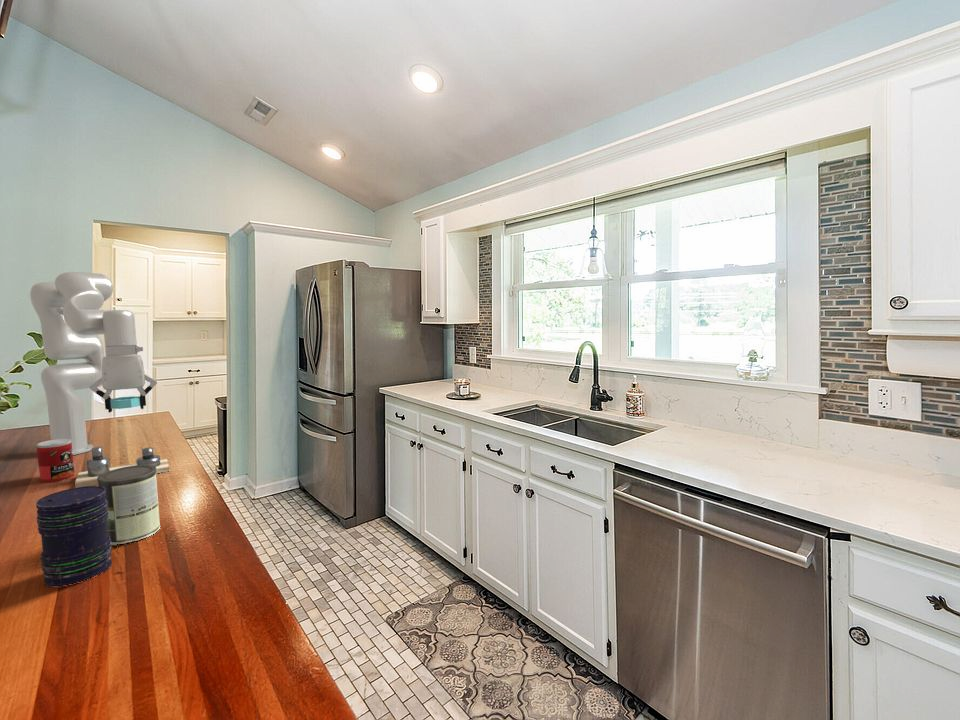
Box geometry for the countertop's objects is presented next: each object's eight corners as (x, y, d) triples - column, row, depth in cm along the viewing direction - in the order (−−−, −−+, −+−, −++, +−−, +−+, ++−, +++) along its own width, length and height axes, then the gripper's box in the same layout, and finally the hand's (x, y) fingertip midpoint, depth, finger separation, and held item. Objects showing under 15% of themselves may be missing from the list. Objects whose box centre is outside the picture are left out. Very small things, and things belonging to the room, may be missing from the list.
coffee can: (90, 547, 96) (84, 481, 95) (124, 524, 106) (119, 465, 105) (142, 544, 97) (137, 479, 96) (170, 522, 107) (166, 464, 106)
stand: (88, 473, 137) (86, 447, 136) (110, 470, 140) (108, 444, 139) (87, 478, 133) (85, 451, 132) (109, 474, 136) (107, 448, 135)
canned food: (54, 483, 133) (50, 446, 132) (32, 481, 135) (28, 445, 134) (81, 474, 141) (78, 439, 140) (60, 472, 142) (57, 438, 141)
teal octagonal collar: (112, 405, 140) (111, 398, 140) (140, 403, 144) (140, 395, 144) (110, 409, 134) (109, 401, 134) (140, 406, 138) (139, 398, 138)
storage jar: (109, 553, 93) (103, 482, 92) (116, 572, 87) (109, 495, 85) (42, 572, 87) (34, 495, 85) (43, 594, 80) (35, 511, 78)
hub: (136, 465, 144) (135, 448, 144) (160, 461, 148) (158, 444, 147) (136, 470, 140) (135, 452, 139) (160, 466, 143) (159, 449, 143)
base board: (79, 477, 138) (78, 472, 138) (167, 462, 151) (167, 458, 151) (75, 488, 129) (74, 483, 129) (169, 471, 142) (169, 467, 142)
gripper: (156, 349, 146) (161, 404, 147) (85, 352, 136) (90, 411, 137) (157, 350, 140) (161, 408, 141) (81, 353, 130) (87, 415, 131)
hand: (126, 409), depth 139 cm, fingers closed on teal octagonal collar, 7 cm apart
